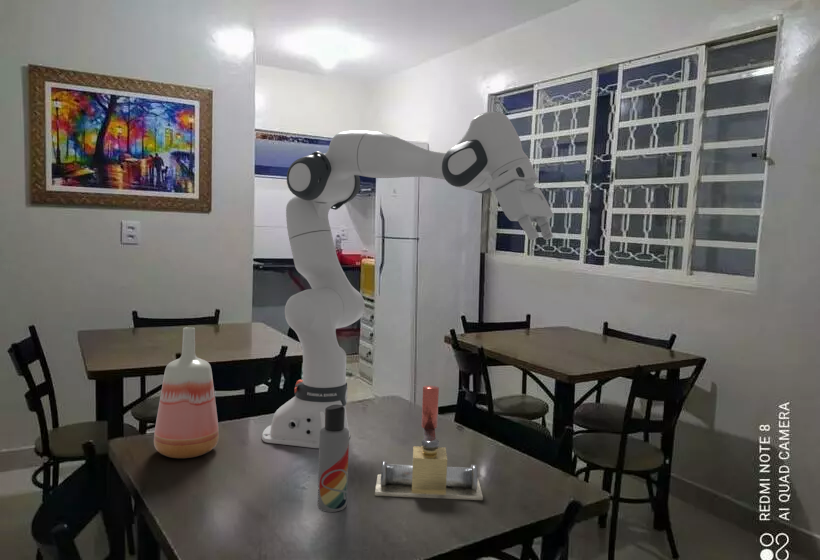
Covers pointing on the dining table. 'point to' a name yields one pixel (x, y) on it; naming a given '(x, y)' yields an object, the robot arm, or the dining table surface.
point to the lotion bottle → (333, 461)
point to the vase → (187, 405)
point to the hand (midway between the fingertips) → (542, 238)
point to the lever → (430, 417)
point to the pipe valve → (428, 478)
